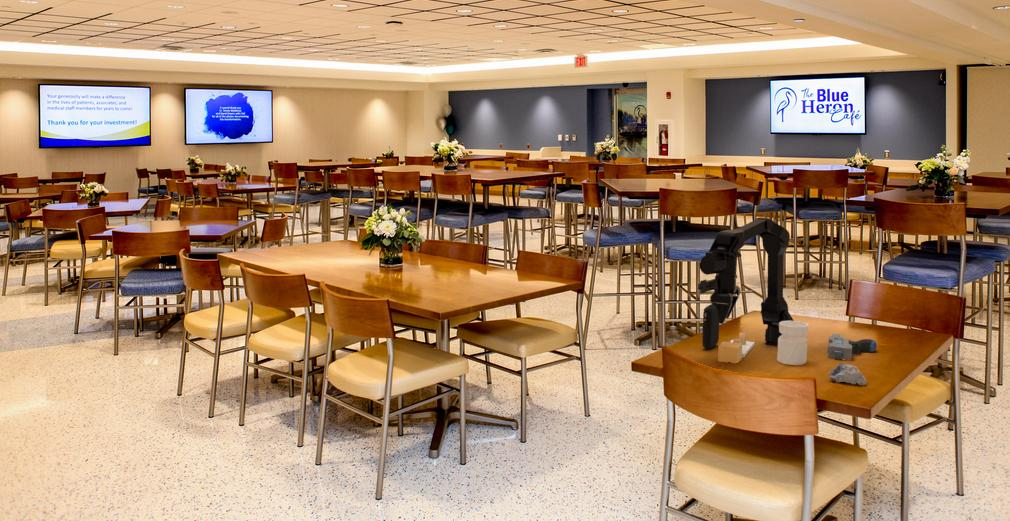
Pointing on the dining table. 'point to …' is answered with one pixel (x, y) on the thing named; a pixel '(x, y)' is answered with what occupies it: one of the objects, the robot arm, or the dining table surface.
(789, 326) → the white plastic jar
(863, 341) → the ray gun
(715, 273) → the robot arm
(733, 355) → the tan block
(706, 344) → the carrying case or bag
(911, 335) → the dining table surface
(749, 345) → the plate
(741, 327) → the dining table surface
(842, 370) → the mineral specimen
